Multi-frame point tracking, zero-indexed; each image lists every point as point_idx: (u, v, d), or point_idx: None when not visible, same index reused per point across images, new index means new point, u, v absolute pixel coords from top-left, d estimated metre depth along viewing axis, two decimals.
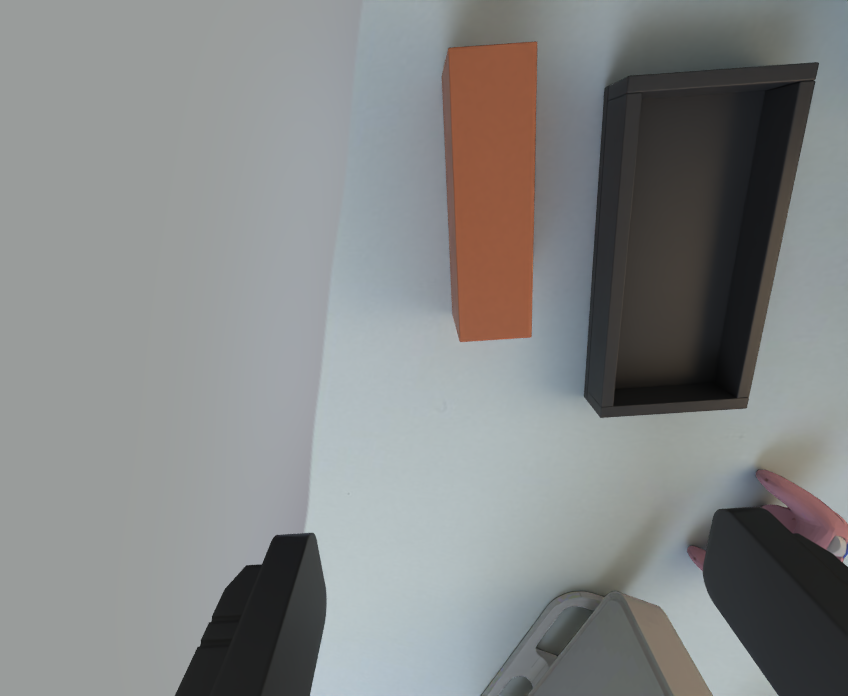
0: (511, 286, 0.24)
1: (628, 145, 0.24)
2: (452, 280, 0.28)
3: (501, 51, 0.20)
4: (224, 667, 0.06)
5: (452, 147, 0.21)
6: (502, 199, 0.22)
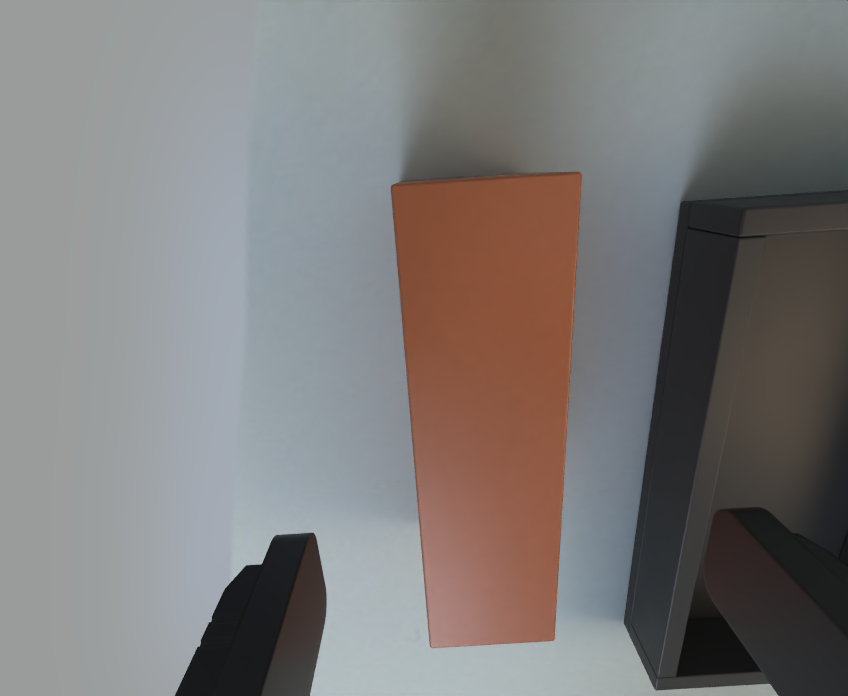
0: (520, 573, 0.13)
1: (733, 323, 0.13)
2: None
3: (504, 191, 0.09)
4: (224, 667, 0.06)
5: (407, 362, 0.11)
6: (504, 447, 0.12)
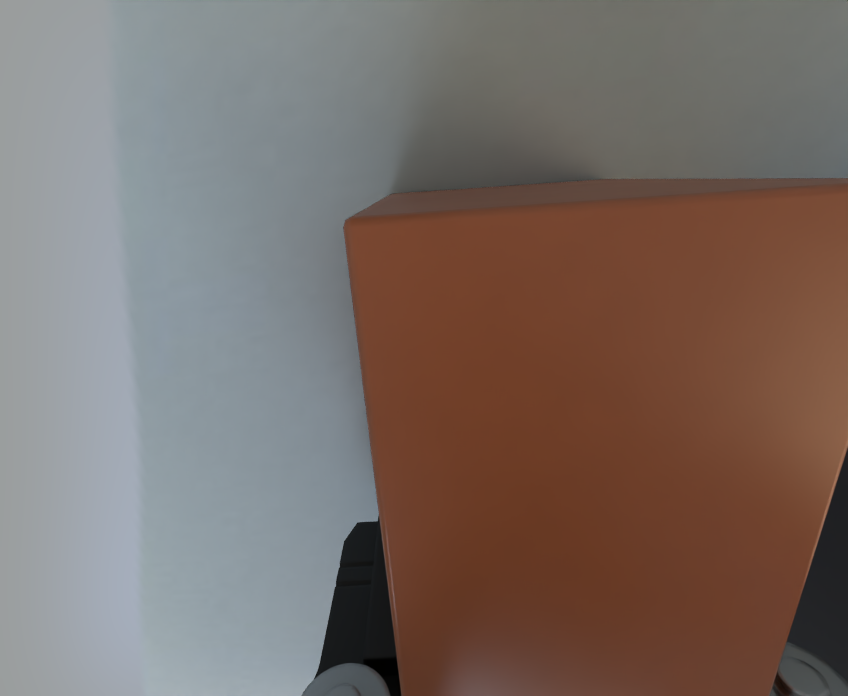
0: None
1: None
2: None
3: (688, 238, 0.03)
4: (372, 599, 0.07)
5: None
6: None
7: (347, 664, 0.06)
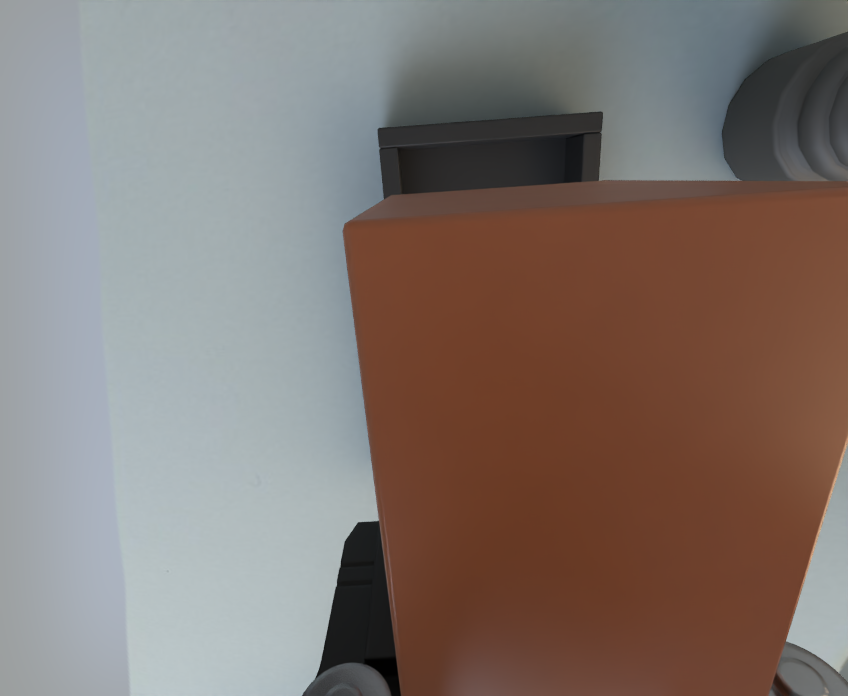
0: None
1: None
2: None
3: (686, 241, 0.03)
4: (373, 598, 0.07)
5: None
6: None
7: (348, 663, 0.06)
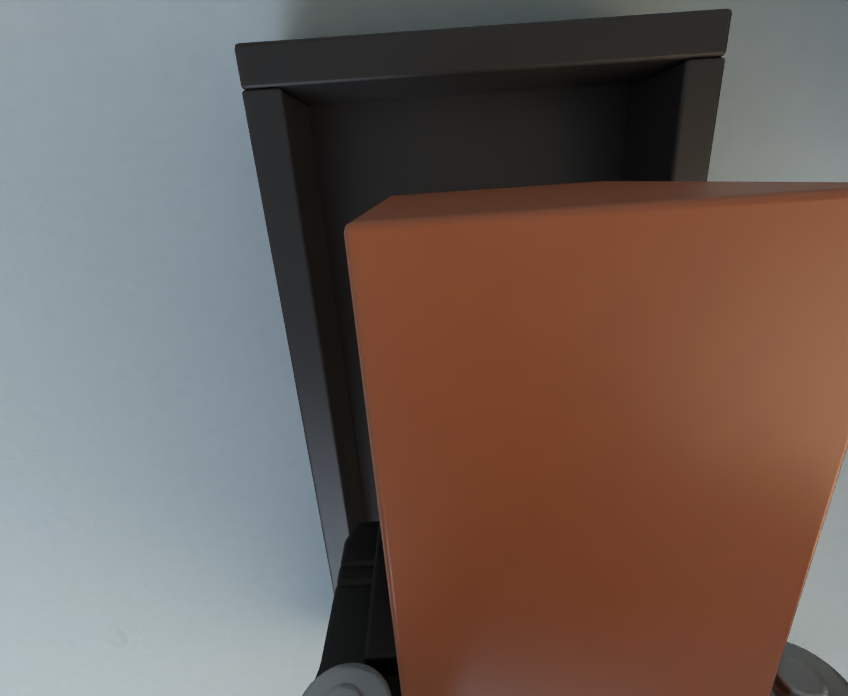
0: None
1: (278, 217, 0.10)
2: None
3: (687, 241, 0.03)
4: (373, 599, 0.07)
5: None
6: None
7: (348, 664, 0.06)
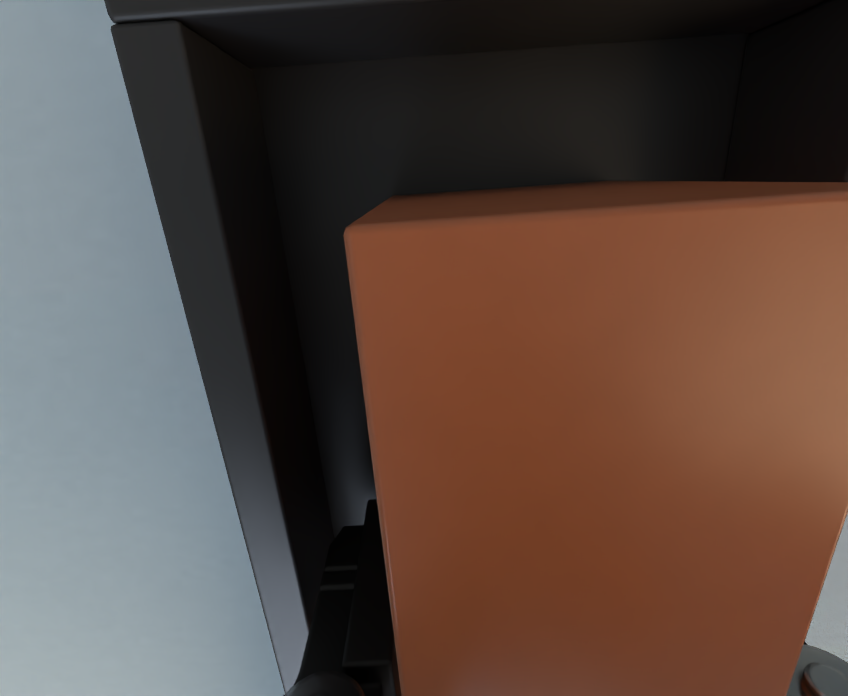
0: None
1: (189, 244, 0.06)
2: None
3: (702, 245, 0.03)
4: (354, 604, 0.07)
5: (399, 647, 0.04)
6: None
7: (325, 671, 0.06)
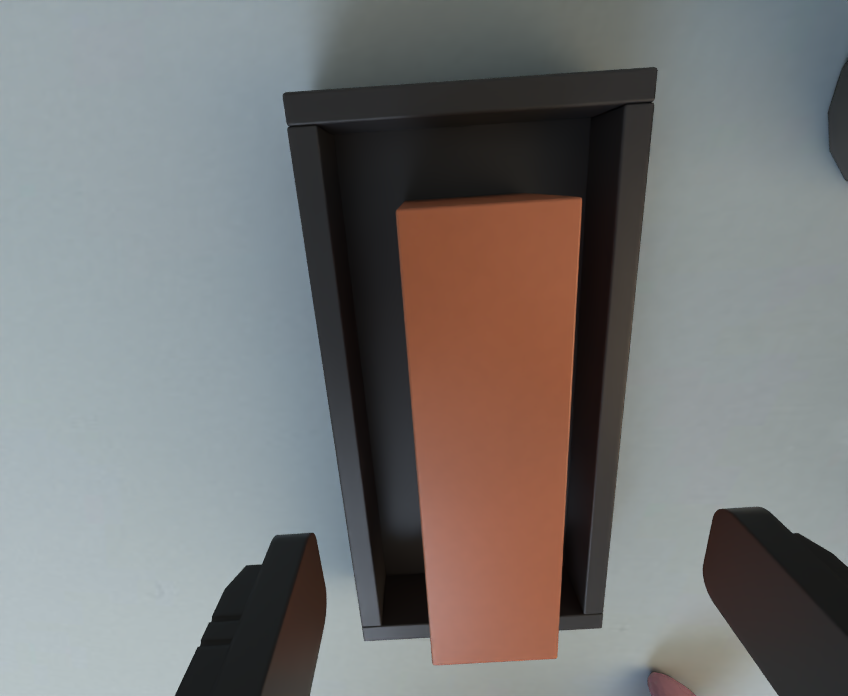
0: (522, 590, 0.13)
1: (312, 223, 0.12)
2: None
3: (506, 216, 0.10)
4: (224, 667, 0.06)
5: (410, 381, 0.11)
6: (507, 465, 0.12)
7: None
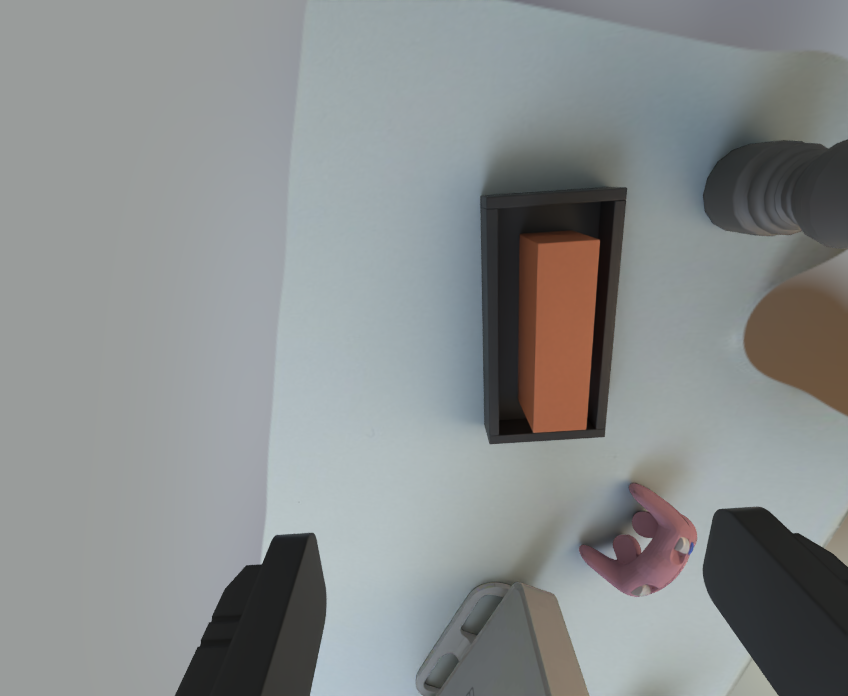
0: (573, 395, 0.32)
1: (491, 245, 0.32)
2: (522, 379, 0.36)
3: (574, 245, 0.29)
4: (224, 667, 0.06)
5: (536, 304, 0.30)
6: (569, 338, 0.31)
7: None
